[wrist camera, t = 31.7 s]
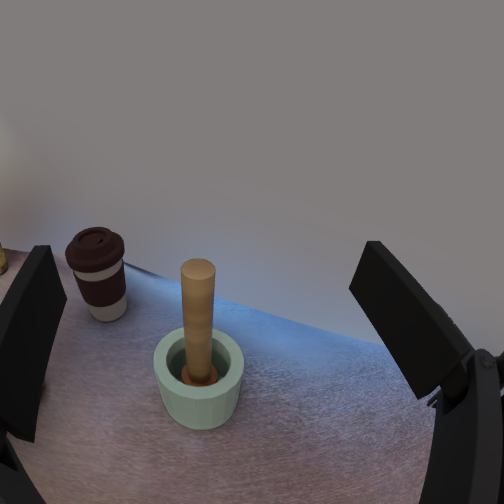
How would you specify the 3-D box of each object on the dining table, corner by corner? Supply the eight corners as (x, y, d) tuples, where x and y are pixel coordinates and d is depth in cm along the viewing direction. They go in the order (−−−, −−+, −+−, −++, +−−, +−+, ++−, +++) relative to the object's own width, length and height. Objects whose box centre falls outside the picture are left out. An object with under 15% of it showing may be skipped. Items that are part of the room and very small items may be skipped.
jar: (232, 435, 31) (238, 406, 25) (155, 420, 31) (141, 386, 25) (240, 374, 39) (247, 332, 34) (173, 362, 39) (167, 318, 34)
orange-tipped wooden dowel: (213, 412, 33) (220, 290, 21) (181, 405, 33) (163, 280, 21) (218, 385, 36) (229, 257, 24) (188, 379, 36) (179, 249, 24)
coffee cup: (76, 305, 45) (55, 236, 36) (117, 283, 52) (105, 215, 43) (99, 337, 40) (75, 264, 32) (144, 310, 47) (134, 238, 39)
